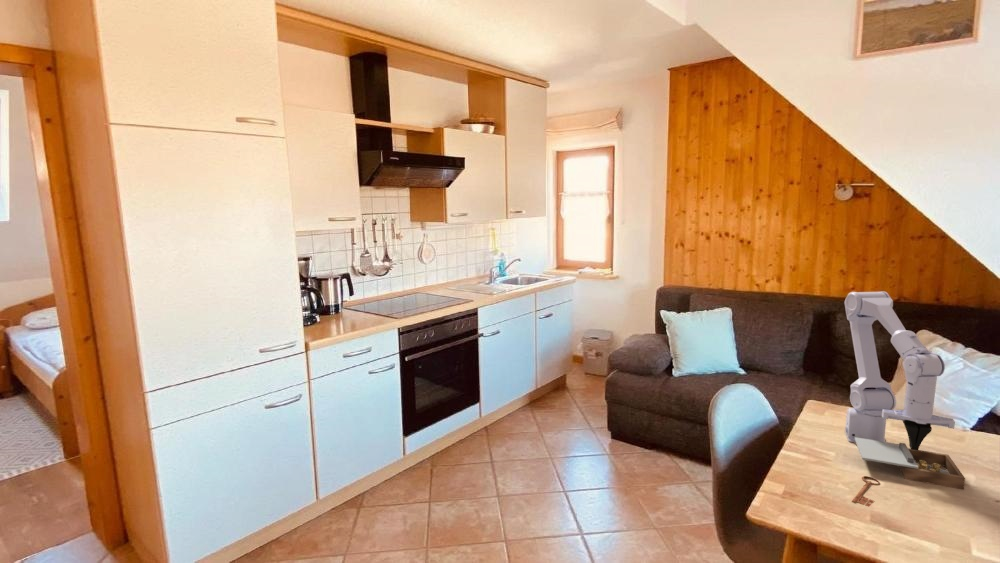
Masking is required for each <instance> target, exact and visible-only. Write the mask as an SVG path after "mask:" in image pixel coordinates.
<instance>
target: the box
mask: <svg viewBox="0 0 1000 563" xmlns="http://www.w3.org/2000/svg"><path fill="white" fill-rule="evenodd" d="M907 448H908V449H909V451H910V453H911V455H912V456H913V458H914V460H915V461H916V462H919V460H924V461H926V464H931V465H933V463H937V464H939V465H940V467H941V466H942V467H944V468H945V469H946V470H945V471H948V472H949V474H947V473H941V472H935V471H929V470H923V469H916V468H910V467H904V466H899V465H897V467H898V469H899V471H900V473H901V476H902V477H903V479H905V480H910V481H915V482H922V483H926V484H930V485H931V484H933V485H938V486H941V487H942V486H943V487H949V488H954V489H958V490H959V489H960V490H965V481H966V477H965V476H964V474H962V471H961V470H960V469H959V467H958V466H957V465H956V464H955V462H954V461H953V459H952V458H951V456H950V455H949V454H946V453H939V452H933V451H926V450H920V449H918V450H912V449H911V448H909V447H907Z"/></svg>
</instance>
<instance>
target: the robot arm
mask: <svg viewBox="0 0 1000 563" xmlns="http://www.w3.org/2000/svg"><path fill="white" fill-rule="evenodd" d="M893 307H894V300H893V299H892V297H891V296H890V294H889V293H888V292H887V291H884V290H883V291H882V290H881V291H858V292H857V291H851V292H849V293H848V294H847V296H846V297H845V300H844V308H845V316H846V319H847V321H849V324H850V325H849V327H850V332H851V333H850V334H851V340H852V345H853V351H854V356H855V362H856V368H857V373H858V375H857V376H858V379H856V380H855V381H854V382H852V383H851V384H850V394H849V400H850V404H851V406H852V408H851V407H850V408H847V410H846V416H845V418H846V419H845V427H844V432H845V435H846V438H847V441H848V442H850V443H855V444H856V441H855V437H857V438H863V439H870V440H876V441H882V442H887V441H886V439H885V437H886V436H885V435H886V426H887V420H888V419H890V420H896V421H902V422H903V425H904V427H905V430H906V434H907V438H908V441H909V447H910V448H909V449H912V450H920V449H919V448H920V446H921V444H922V443H923V441H924V439H925V438H926V437H927V436H928V434H930V433H932V430H933V429H932V425H933V426H939V427H945V428H948V429H952V430H953V429H955V425H956V424H955V423H956V421H955V420H954V419H953V418H951V417H950V418H949V417H943V416H940V415H936V414H933V413H934V412H933V411H934V404H935V397H936V396H935V395H936V388H937V387H936V386H937V382H938V381H937V379H938V377H939V376H942V375H943V374H944V372H945V369H946V366H945V365H946V364H945V361H944V359H943V358H942V356H941V355H940V354H939V353H935V352H933V351H932V350H928V348H927V347H926V346H925V344H924V343H923V342H922V341H921V339H920V338H919V337H918V336H917V334H916V333H915V332H914V331H912V330H906V328H905V326H904V325H903V323H902V321H901V320H900V319H899V317H898V315H897V313H896V312H895V310H894V309H893ZM876 321H878V322H879V323H880V324H881V325H882V326H883V328H884V329H885V330H886V331H887V332H888V333H889V334H890V335H891V337H890V344H892V346H893V347H894V349H895V350H896V351H897V353H898V354H899V356H900V357H901V359H903V361H902V368H903V370H904V373H905V374H904V378H905V380H906V388H905V396H904V397H905V398H904V406H903V410H902V409H901V410H900V409H895V408H896V405H897V397H896V396H895V394H894V393H893V390H892V385H891V384H890V383H889V382H887V381H886V380H884V379H883V378H882V376H881V370H880V365H879V360H878V354H877V348H876V341H875V336H874V330H873V326H872V325H873V324H874V322H876ZM867 388H869V389H867ZM870 388H871V389H870ZM873 388H874V389H873Z"/></svg>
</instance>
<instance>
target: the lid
mask: <svg viewBox="0 0 1000 563" xmlns="http://www.w3.org/2000/svg"><path fill="white" fill-rule="evenodd" d="M855 441H856V443H855V444H856V446H857V450H858V451H859V454H860V457H861V459H862V460H865V461H869V462H871V461H872V462H876V463H882V464H887V465H894V466H898V465H899V466H904V467H910V468H916V469H918V466H917V464H916V462H917V461H916V462H915V460H914V458H913V456H912V455H911V453H910V451H909V449H910V448H909V447H908V446H907V444H906V443H904V442H899V443H894V442H888V441H886V442H882V441H876V440H870V439H863V438H857V437H855ZM908 448H909V449H908Z"/></svg>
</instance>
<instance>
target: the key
mask: <svg viewBox="0 0 1000 563" xmlns="http://www.w3.org/2000/svg"><path fill="white" fill-rule="evenodd" d="M861 479H862V481H863V482H865V484H864V485H863V487H862V488H861V489H860V490H859V492H858V493H857V494H856V495H855V496H854V497H853V498H852V499H851V503H854V504H860V505H863V506H866V507H867V508H868V507H870V506H872V505H873V504H874V503H875V502H876V501H875V500H873V499H869V498H868V497H866V496H863V495H864V494H865V492H866V491H867V490H868V489H870V488H869V487H870V486H880V485H881V483H880V481H879V480H877V479H875V478H874V477H871V476H866V475H863V476H861ZM868 479H870V480H868ZM871 480H872V481H874V482H872V481H871ZM875 482H876V483H875Z"/></svg>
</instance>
